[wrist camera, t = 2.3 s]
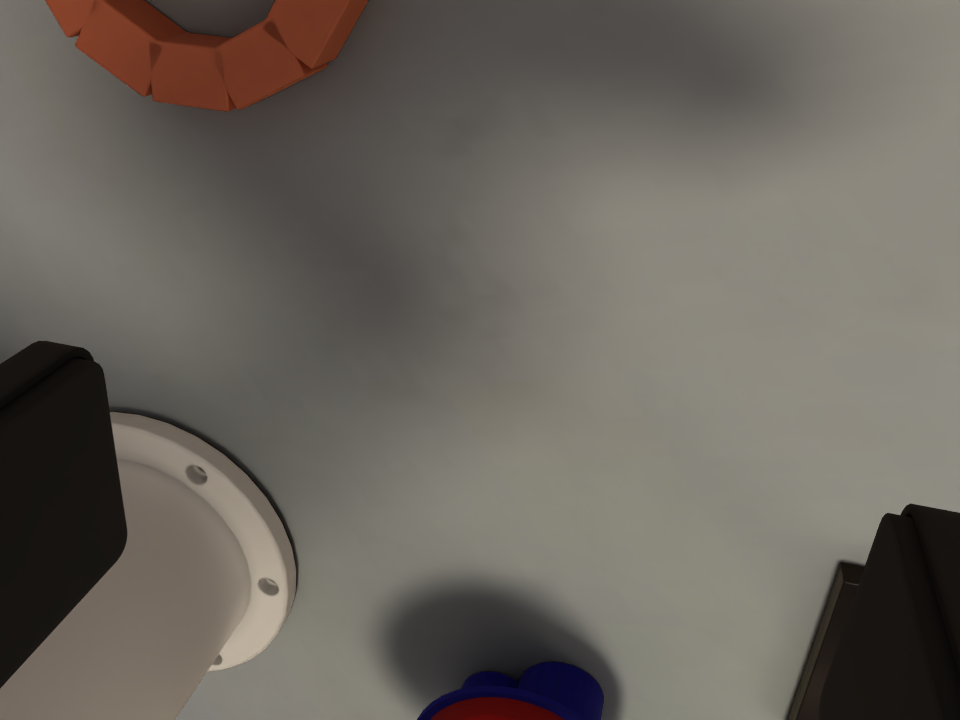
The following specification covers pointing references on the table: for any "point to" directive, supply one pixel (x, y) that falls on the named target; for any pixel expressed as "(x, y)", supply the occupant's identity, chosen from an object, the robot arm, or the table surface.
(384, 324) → the table surface
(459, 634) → the table surface
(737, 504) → the table surface
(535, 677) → the toy
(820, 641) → the post
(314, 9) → the ring
